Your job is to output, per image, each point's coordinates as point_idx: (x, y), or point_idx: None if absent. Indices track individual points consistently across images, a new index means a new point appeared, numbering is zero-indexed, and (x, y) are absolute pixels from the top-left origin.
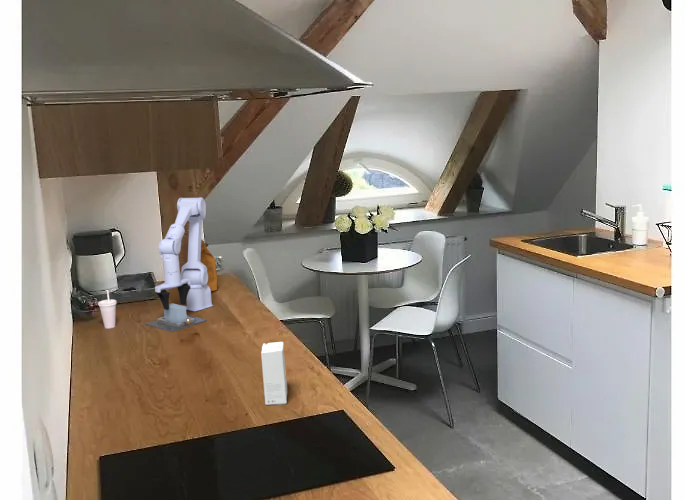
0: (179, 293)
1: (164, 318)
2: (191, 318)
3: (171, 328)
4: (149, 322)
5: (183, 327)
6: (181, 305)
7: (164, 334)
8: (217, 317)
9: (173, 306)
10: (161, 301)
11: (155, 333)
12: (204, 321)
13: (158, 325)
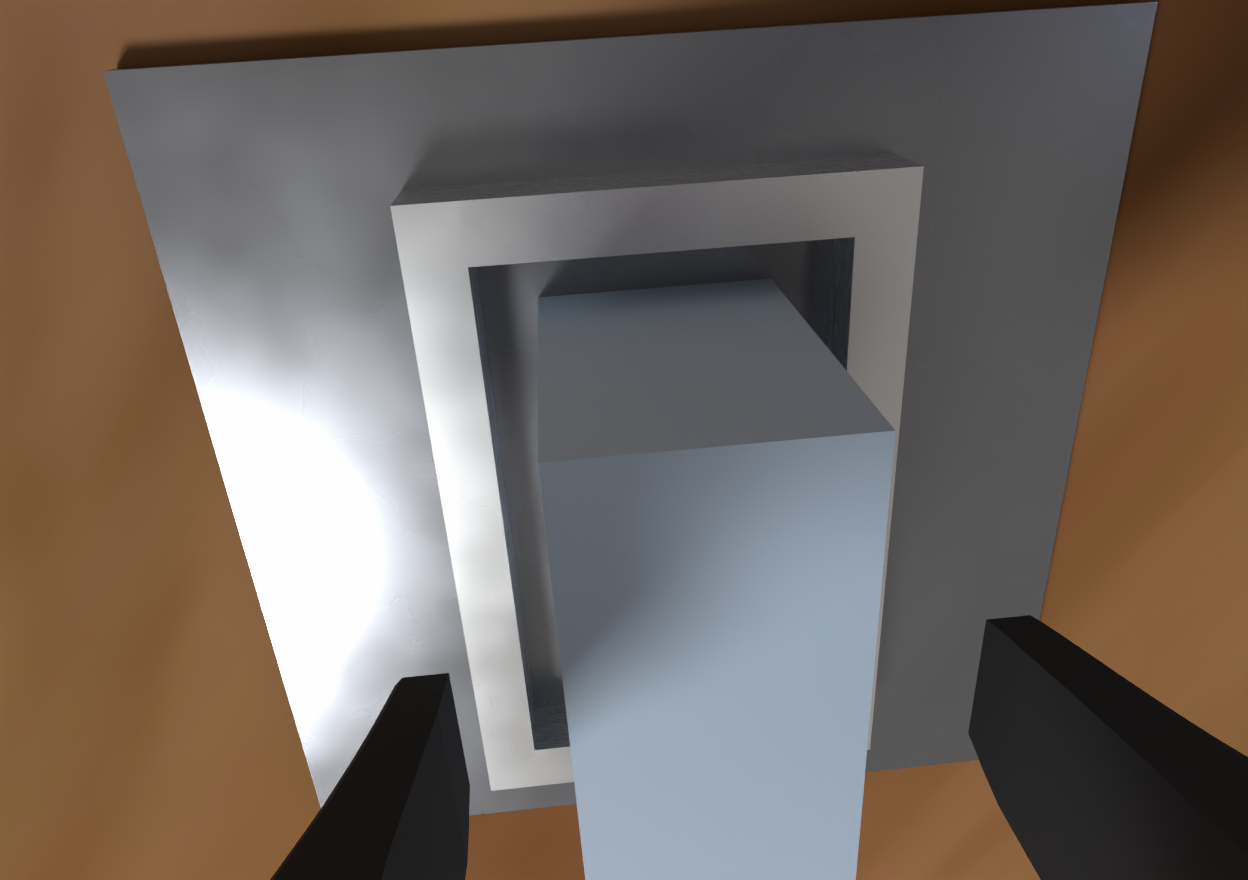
0: (1218, 861)
1: (571, 249)
2: None
3: None
4: (231, 79)
5: (550, 804)
6: (858, 789)
7: (188, 824)
8: (1207, 722)
9: (680, 723)
10: (288, 869)
11: (86, 706)
12: (958, 747)
13: (292, 445)
